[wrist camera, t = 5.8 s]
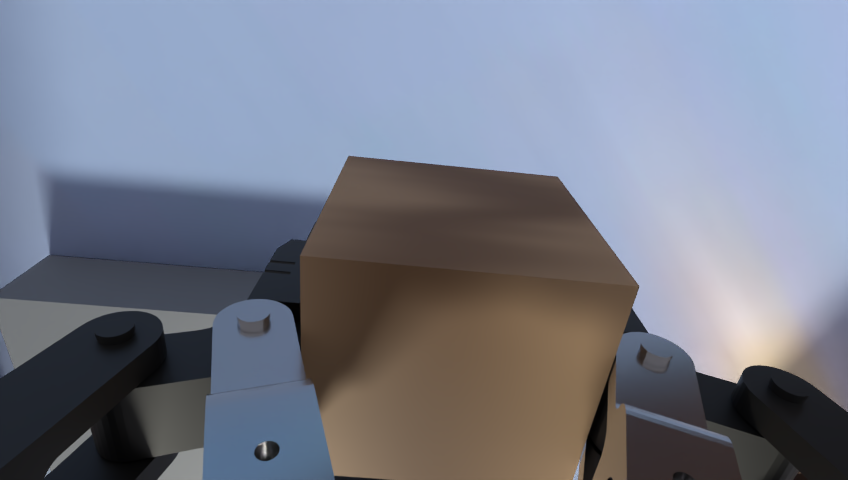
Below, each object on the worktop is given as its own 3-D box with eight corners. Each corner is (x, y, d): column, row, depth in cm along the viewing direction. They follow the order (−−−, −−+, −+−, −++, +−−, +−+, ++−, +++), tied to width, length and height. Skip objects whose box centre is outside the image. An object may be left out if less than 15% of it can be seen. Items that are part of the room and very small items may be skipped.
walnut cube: (557, 176, 12) (639, 285, 7) (518, 343, 14) (563, 507, 9) (348, 155, 12) (299, 255, 7) (342, 328, 14) (302, 489, 9)
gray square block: (317, 276, 26) (301, 321, 23) (317, 456, 33) (304, 514, 29) (49, 255, 26) (-12, 297, 22) (101, 443, 32) (61, 500, 28)
